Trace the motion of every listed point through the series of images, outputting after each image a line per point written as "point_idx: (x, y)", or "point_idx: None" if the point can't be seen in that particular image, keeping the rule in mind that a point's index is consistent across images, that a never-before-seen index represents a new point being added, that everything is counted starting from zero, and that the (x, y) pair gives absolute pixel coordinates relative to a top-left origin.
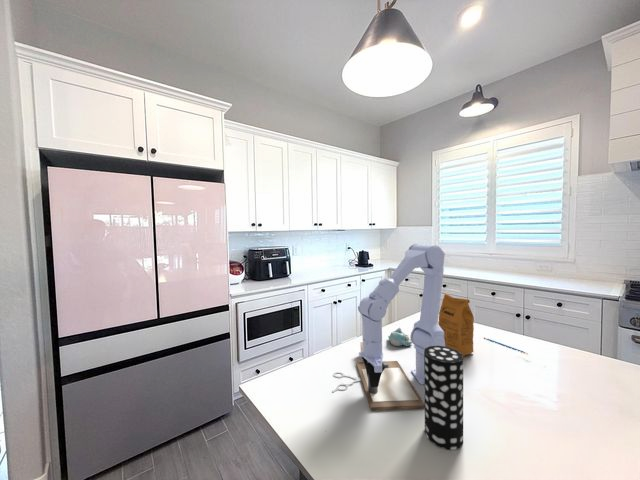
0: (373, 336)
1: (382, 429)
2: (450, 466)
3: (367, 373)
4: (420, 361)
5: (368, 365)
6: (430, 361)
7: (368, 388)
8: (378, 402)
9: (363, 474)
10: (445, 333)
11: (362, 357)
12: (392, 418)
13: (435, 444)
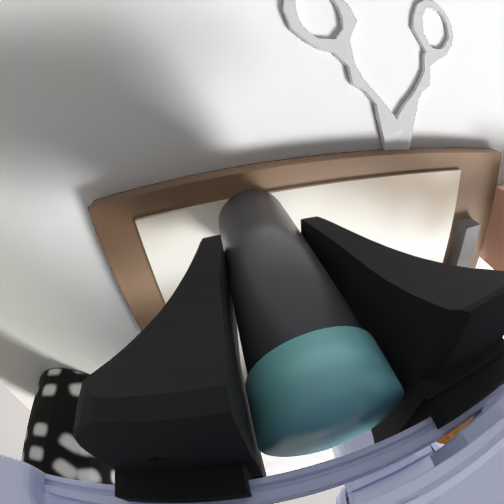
0: None
1: (10, 253)
2: (8, 378)
3: (326, 241)
4: (365, 439)
5: (130, 453)
6: None
7: (245, 199)
8: (142, 249)
9: None
10: (452, 431)
11: (479, 315)
12: (81, 294)
13: (40, 377)
